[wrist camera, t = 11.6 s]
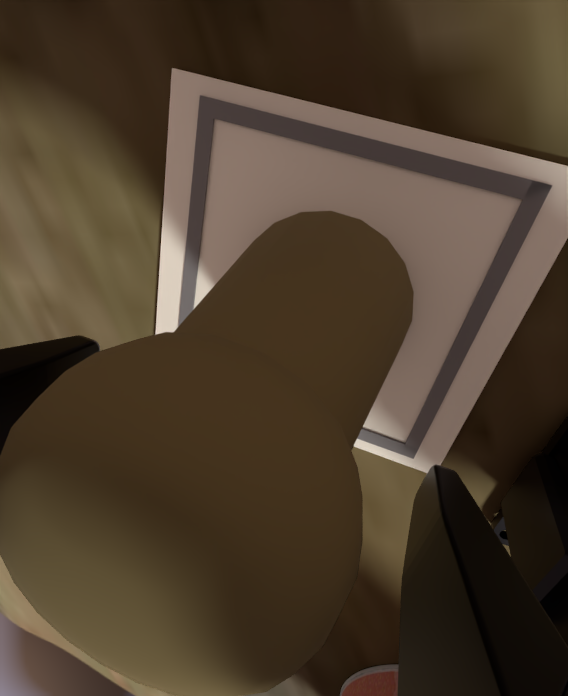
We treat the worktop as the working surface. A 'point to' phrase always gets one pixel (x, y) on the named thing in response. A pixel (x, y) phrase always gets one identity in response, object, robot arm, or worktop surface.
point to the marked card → (381, 214)
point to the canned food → (372, 682)
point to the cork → (213, 468)
